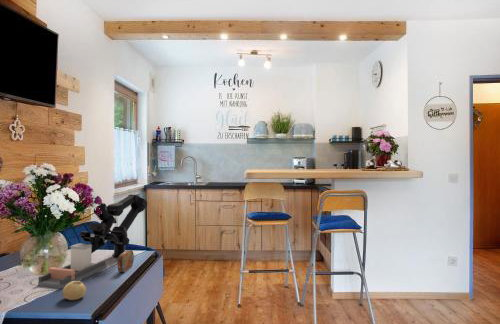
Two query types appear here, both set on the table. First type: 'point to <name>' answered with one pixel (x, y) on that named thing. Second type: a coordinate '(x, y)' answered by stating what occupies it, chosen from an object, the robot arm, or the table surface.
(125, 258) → the tin
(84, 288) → the onion
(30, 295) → the table surface
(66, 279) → the cable rail
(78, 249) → the pale grey box
